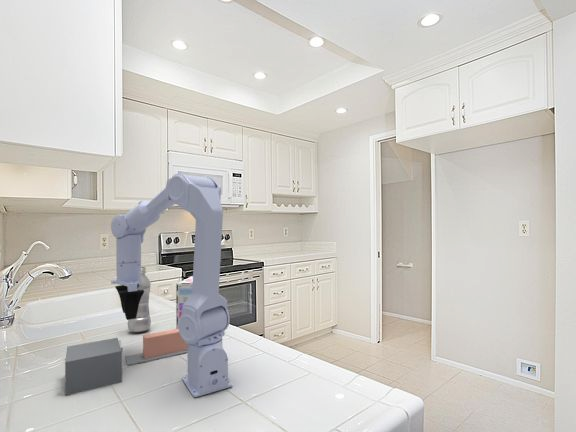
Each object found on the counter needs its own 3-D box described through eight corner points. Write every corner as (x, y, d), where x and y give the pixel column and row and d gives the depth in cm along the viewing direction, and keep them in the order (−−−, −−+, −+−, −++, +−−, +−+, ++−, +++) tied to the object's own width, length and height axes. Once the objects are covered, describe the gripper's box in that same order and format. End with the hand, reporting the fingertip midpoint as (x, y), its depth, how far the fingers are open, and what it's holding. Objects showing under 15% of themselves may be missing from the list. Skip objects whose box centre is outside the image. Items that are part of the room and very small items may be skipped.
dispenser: (124, 381, 70) (123, 350, 71) (65, 395, 65) (65, 362, 65) (119, 364, 79) (119, 337, 79) (67, 375, 73) (67, 346, 74)
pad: (187, 352, 85) (187, 351, 85) (127, 366, 78) (127, 364, 78) (181, 345, 91) (181, 344, 91) (125, 357, 83) (125, 356, 83)
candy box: (195, 339, 95) (195, 282, 96) (175, 339, 95) (175, 282, 96) (208, 325, 109) (207, 275, 109) (190, 325, 109) (190, 275, 110)
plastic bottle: (135, 328, 107) (135, 266, 107) (155, 328, 106) (154, 266, 106) (123, 334, 101) (122, 269, 101) (143, 335, 100) (143, 269, 100)
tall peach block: (189, 349, 87) (189, 330, 87) (145, 358, 81) (144, 338, 81) (186, 345, 90) (186, 327, 90) (143, 354, 84) (142, 335, 84)
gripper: (109, 260, 88) (109, 311, 88) (113, 266, 76) (113, 325, 76) (138, 258, 92) (138, 307, 92) (146, 263, 80) (146, 320, 79)
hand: (129, 315), depth 84 cm, fingers open, 7 cm apart
